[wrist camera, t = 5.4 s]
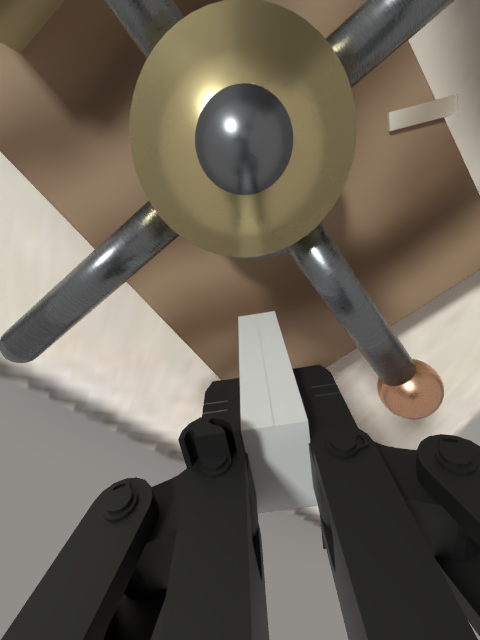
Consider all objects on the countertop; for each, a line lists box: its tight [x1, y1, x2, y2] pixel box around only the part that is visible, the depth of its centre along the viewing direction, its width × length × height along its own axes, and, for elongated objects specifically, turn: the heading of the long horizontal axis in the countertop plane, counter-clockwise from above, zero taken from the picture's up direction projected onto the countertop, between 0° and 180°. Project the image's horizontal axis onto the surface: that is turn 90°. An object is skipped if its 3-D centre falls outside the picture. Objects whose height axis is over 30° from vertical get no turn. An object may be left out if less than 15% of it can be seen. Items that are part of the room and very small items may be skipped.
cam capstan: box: [0, 0, 454, 419], centre depth 12 cm, size 23×22×9 cm
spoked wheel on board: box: [0, 0, 480, 380], centre depth 15 cm, size 26×19×7 cm
